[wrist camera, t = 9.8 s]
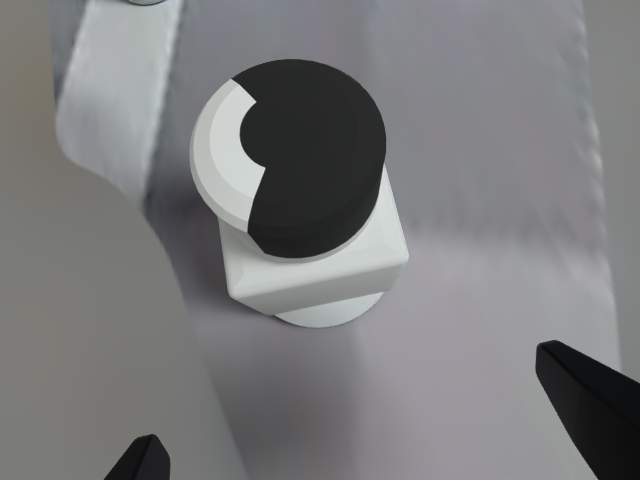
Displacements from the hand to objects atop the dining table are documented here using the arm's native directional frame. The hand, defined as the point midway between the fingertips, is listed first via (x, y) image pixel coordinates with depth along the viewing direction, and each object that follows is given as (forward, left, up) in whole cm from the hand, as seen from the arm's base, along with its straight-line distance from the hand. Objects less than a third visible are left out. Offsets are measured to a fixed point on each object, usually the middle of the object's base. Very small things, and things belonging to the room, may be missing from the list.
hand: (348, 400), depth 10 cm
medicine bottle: (+6, -4, -12) cm, 14 cm away
